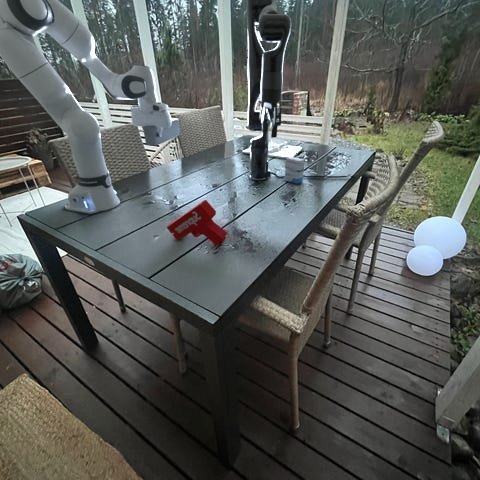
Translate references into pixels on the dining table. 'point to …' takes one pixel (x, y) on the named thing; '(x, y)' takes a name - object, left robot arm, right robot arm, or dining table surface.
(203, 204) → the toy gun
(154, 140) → the bar
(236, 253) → the dining table surface
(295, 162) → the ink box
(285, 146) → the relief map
